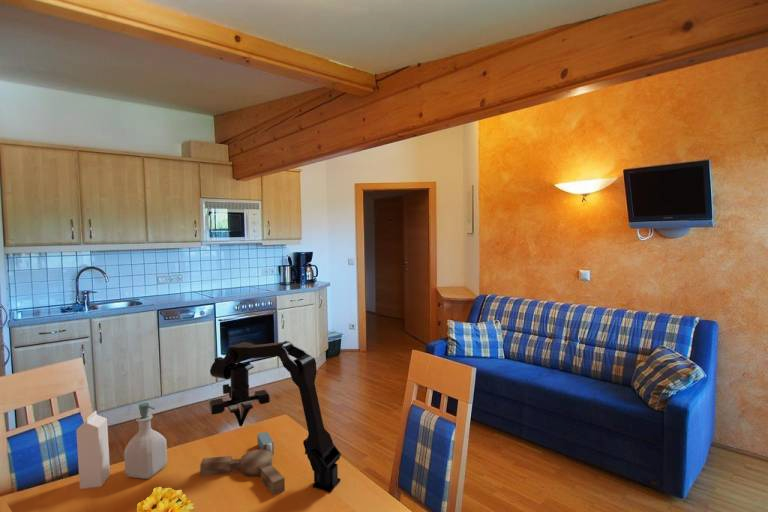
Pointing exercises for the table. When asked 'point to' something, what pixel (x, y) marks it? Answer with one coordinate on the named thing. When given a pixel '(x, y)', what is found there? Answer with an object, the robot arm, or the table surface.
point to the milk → (93, 452)
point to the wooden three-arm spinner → (247, 468)
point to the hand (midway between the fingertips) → (240, 425)
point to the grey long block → (265, 442)
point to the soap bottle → (145, 448)
